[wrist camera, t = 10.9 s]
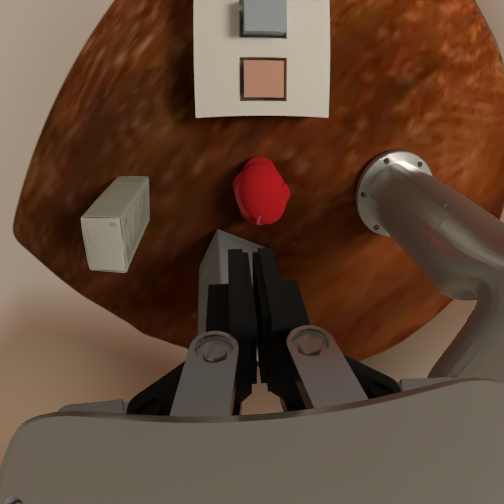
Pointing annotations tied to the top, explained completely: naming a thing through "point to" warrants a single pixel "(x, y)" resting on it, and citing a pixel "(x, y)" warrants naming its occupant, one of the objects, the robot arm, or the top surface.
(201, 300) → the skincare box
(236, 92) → the button panel
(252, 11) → the slate button
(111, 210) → the skincare box
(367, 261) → the top surface
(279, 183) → the cap
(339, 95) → the top surface
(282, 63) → the terracotta button
